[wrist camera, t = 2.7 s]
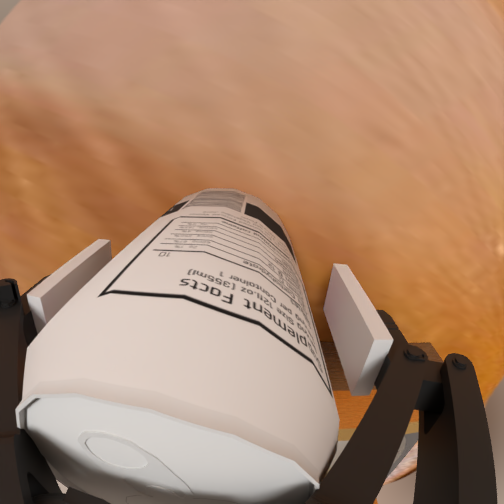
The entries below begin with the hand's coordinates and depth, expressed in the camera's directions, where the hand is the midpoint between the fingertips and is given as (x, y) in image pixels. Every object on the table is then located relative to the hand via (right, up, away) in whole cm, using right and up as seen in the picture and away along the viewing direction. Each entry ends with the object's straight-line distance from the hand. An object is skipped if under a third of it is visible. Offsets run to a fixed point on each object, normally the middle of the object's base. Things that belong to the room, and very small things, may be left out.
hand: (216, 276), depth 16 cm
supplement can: (0, +1, +3) cm, 4 cm away
